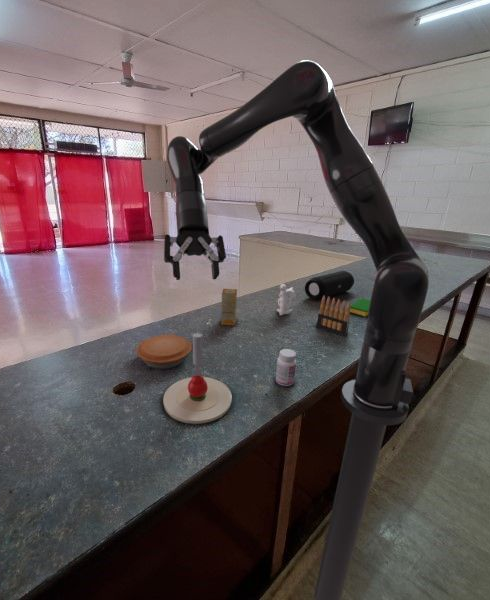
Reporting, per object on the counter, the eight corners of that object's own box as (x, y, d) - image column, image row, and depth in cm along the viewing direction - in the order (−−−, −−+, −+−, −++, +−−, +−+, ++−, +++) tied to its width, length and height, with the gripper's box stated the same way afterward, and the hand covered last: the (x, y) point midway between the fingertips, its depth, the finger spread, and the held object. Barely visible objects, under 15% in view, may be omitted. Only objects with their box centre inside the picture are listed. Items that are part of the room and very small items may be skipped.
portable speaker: (319, 303, 135) (323, 281, 131) (301, 297, 142) (304, 275, 138) (354, 293, 149) (357, 272, 145) (335, 287, 156) (339, 267, 153)
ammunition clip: (347, 334, 108) (353, 301, 104) (345, 335, 107) (351, 302, 103) (318, 324, 115) (322, 293, 111) (316, 326, 113) (320, 295, 109)
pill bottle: (290, 388, 79) (294, 359, 76) (272, 382, 81) (275, 354, 78) (296, 379, 83) (299, 351, 80) (279, 373, 85) (281, 346, 82)
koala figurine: (282, 318, 120) (285, 288, 115) (269, 312, 125) (272, 283, 120) (297, 313, 125) (300, 284, 120) (284, 307, 130) (287, 279, 125)
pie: (163, 381, 81) (162, 364, 79) (125, 360, 89) (124, 344, 88) (202, 356, 92) (202, 341, 90) (166, 340, 101) (165, 326, 99)
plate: (241, 389, 78) (241, 386, 78) (214, 433, 65) (214, 429, 64) (185, 373, 84) (185, 370, 84) (149, 410, 70) (149, 407, 70)
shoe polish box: (235, 320, 117) (237, 289, 113) (235, 325, 112) (236, 294, 108) (222, 319, 117) (223, 288, 113) (221, 324, 113) (221, 293, 109)
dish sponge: (347, 311, 127) (348, 306, 126) (361, 303, 137) (361, 297, 136) (365, 316, 123) (366, 311, 122) (378, 307, 132) (379, 302, 131)
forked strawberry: (207, 389, 76) (207, 330, 71) (208, 402, 72) (208, 339, 66) (187, 390, 76) (186, 330, 70) (188, 403, 72) (186, 340, 66)
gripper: (162, 205, 71) (166, 273, 67) (223, 208, 75) (230, 272, 71) (161, 222, 78) (164, 284, 74) (217, 223, 82) (223, 283, 78)
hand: (197, 278), depth 72 cm, fingers open, 8 cm apart
